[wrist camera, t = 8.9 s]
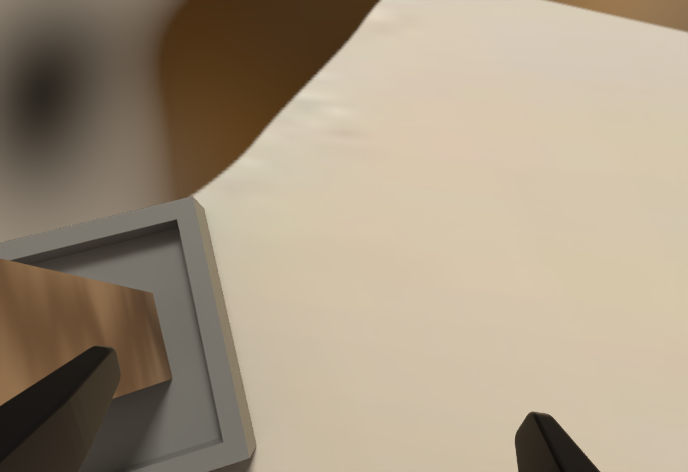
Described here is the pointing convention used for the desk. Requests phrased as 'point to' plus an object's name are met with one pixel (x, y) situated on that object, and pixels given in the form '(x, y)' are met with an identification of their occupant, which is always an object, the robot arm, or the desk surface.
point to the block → (74, 327)
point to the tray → (178, 333)
